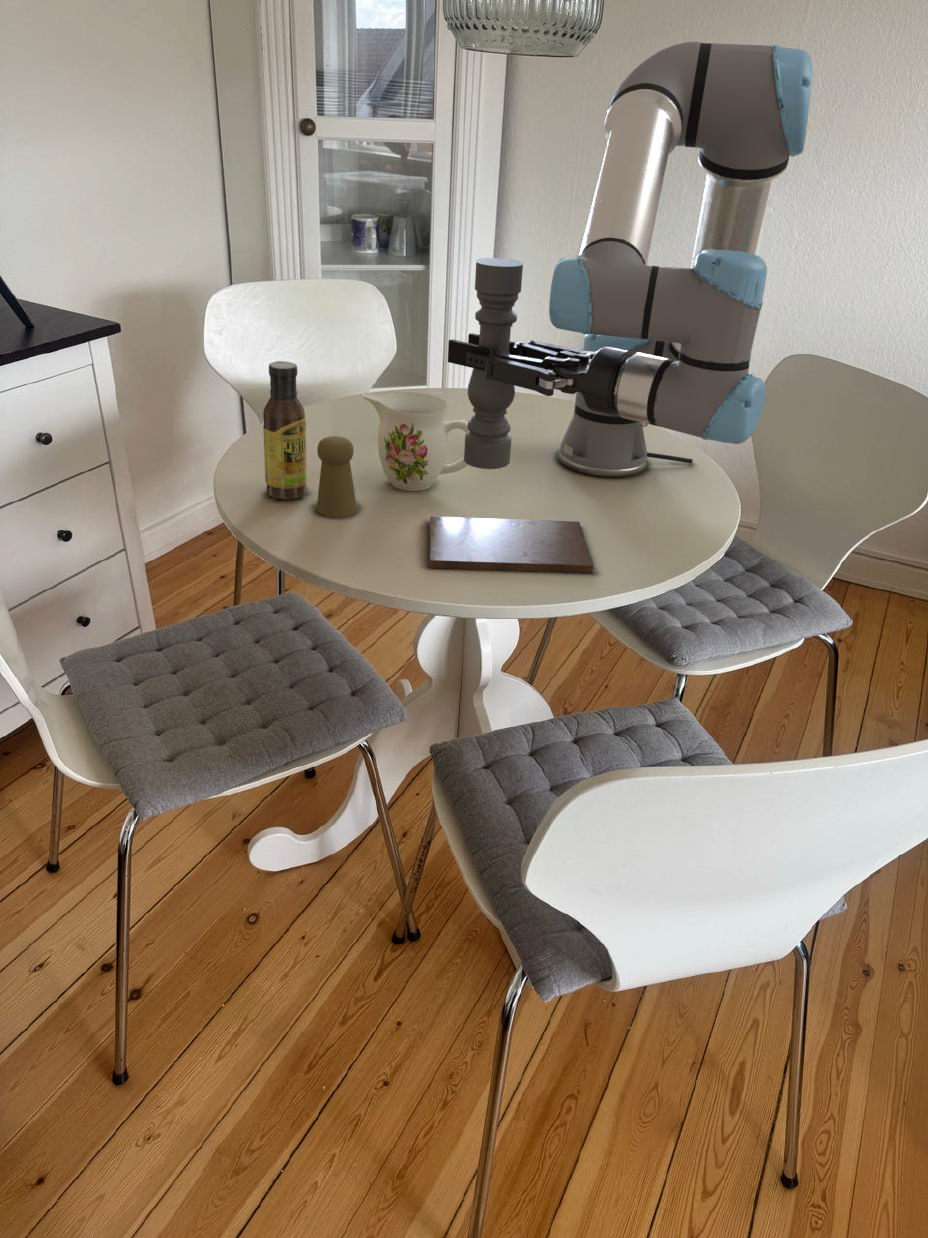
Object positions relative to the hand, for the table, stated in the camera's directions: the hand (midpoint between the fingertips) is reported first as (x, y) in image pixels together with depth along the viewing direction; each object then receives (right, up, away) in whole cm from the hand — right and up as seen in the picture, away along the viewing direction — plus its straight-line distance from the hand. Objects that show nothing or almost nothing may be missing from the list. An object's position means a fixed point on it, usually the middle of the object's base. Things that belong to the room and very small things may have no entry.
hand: (460, 347), depth 117 cm
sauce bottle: (-27, -16, +24) cm, 39 cm away
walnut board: (+7, -25, +12) cm, 28 cm away
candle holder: (+3, -14, +5) cm, 15 cm away
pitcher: (-7, -13, +30) cm, 34 cm away
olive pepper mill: (-19, -18, +20) cm, 33 cm away
